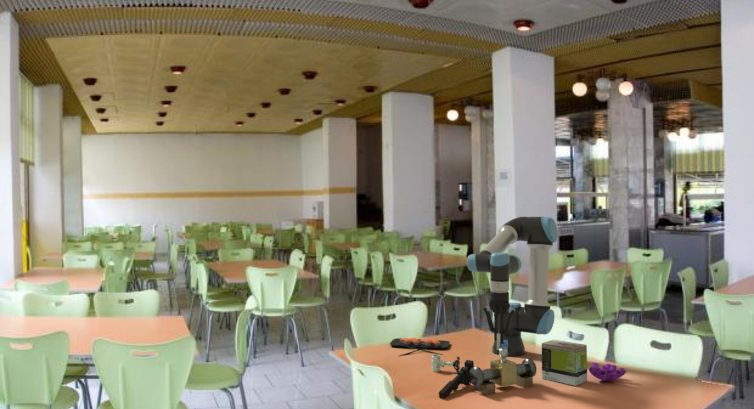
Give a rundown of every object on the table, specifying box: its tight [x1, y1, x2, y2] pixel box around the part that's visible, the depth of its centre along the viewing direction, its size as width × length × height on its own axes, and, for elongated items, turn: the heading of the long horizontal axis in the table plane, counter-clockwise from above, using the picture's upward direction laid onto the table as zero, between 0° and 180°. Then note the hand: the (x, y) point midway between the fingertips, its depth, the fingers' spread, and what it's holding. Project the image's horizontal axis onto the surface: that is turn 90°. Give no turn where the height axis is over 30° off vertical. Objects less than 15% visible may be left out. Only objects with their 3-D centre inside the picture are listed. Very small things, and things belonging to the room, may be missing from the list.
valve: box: [430, 353, 461, 373], centre depth 252 cm, size 7×7×12 cm
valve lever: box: [498, 339, 508, 359], centre depth 237 cm, size 18×3×3 cm, turn 166°
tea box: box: [541, 339, 588, 387], centre depth 239 cm, size 15×10×15 cm, turn 44°
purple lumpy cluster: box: [588, 362, 627, 382], centre depth 238 cm, size 11×15×10 cm
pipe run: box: [470, 357, 537, 396], centre depth 230 cm, size 27×8×12 cm, turn 116°
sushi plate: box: [389, 337, 451, 357], centre depth 290 cm, size 29×30×4 cm
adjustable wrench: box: [438, 359, 475, 400], centre depth 228 cm, size 8×3×25 cm
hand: (499, 349), depth 242 cm, fingers closed
